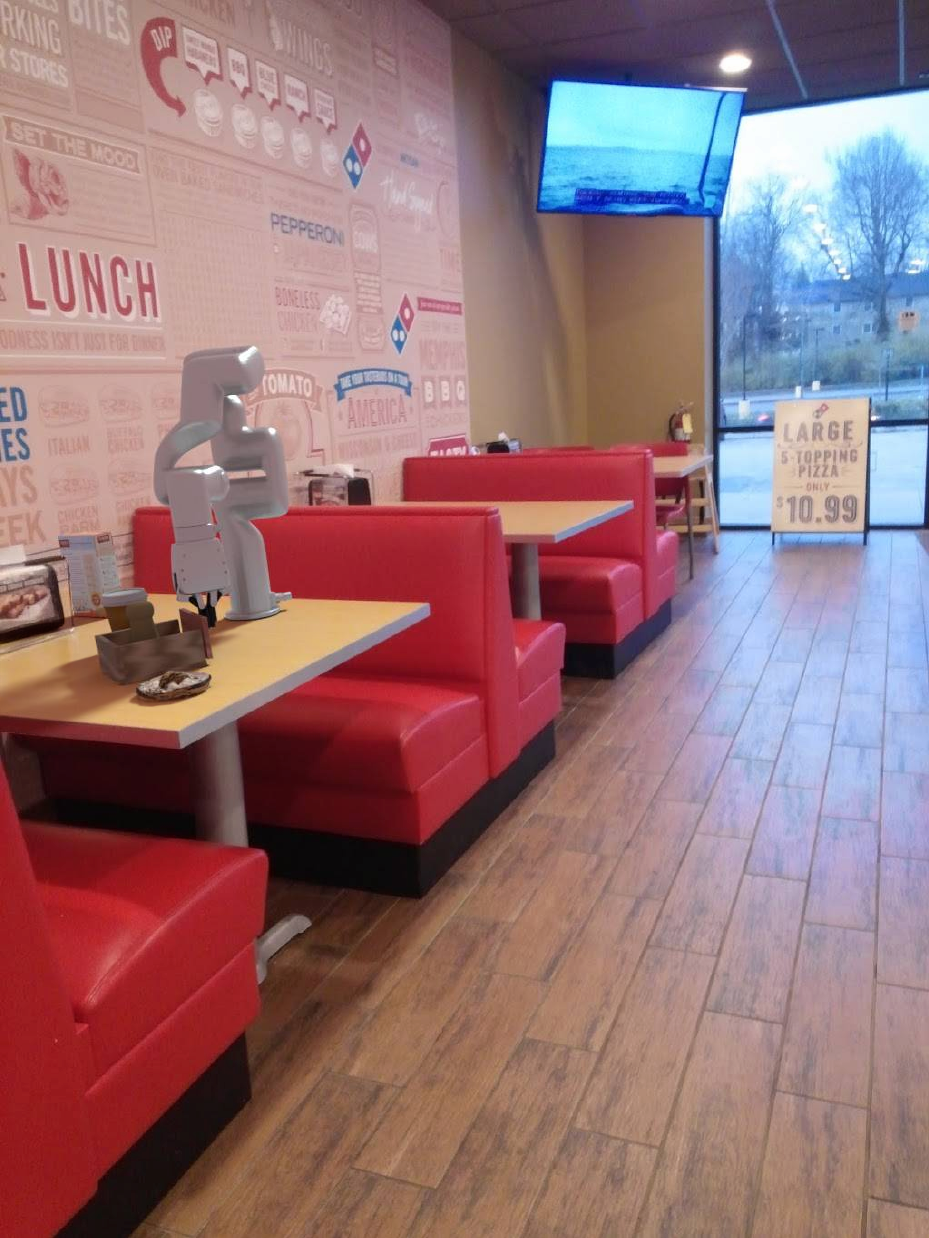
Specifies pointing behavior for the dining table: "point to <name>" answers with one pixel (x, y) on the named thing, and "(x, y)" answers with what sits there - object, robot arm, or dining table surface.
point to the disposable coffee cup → (121, 606)
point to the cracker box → (90, 570)
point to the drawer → (193, 623)
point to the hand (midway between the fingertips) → (209, 626)
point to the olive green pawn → (141, 621)
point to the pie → (174, 686)
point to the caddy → (150, 653)
